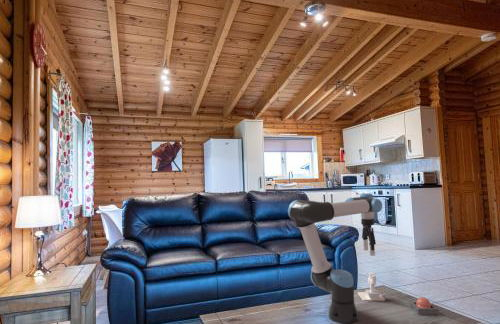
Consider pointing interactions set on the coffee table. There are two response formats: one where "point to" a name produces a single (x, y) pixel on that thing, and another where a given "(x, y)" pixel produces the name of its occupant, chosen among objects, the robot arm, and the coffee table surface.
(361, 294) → the game square
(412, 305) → the housing
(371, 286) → the white faucet
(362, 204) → the robot arm
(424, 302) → the pink ball
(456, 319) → the coffee table surface
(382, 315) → the coffee table surface
